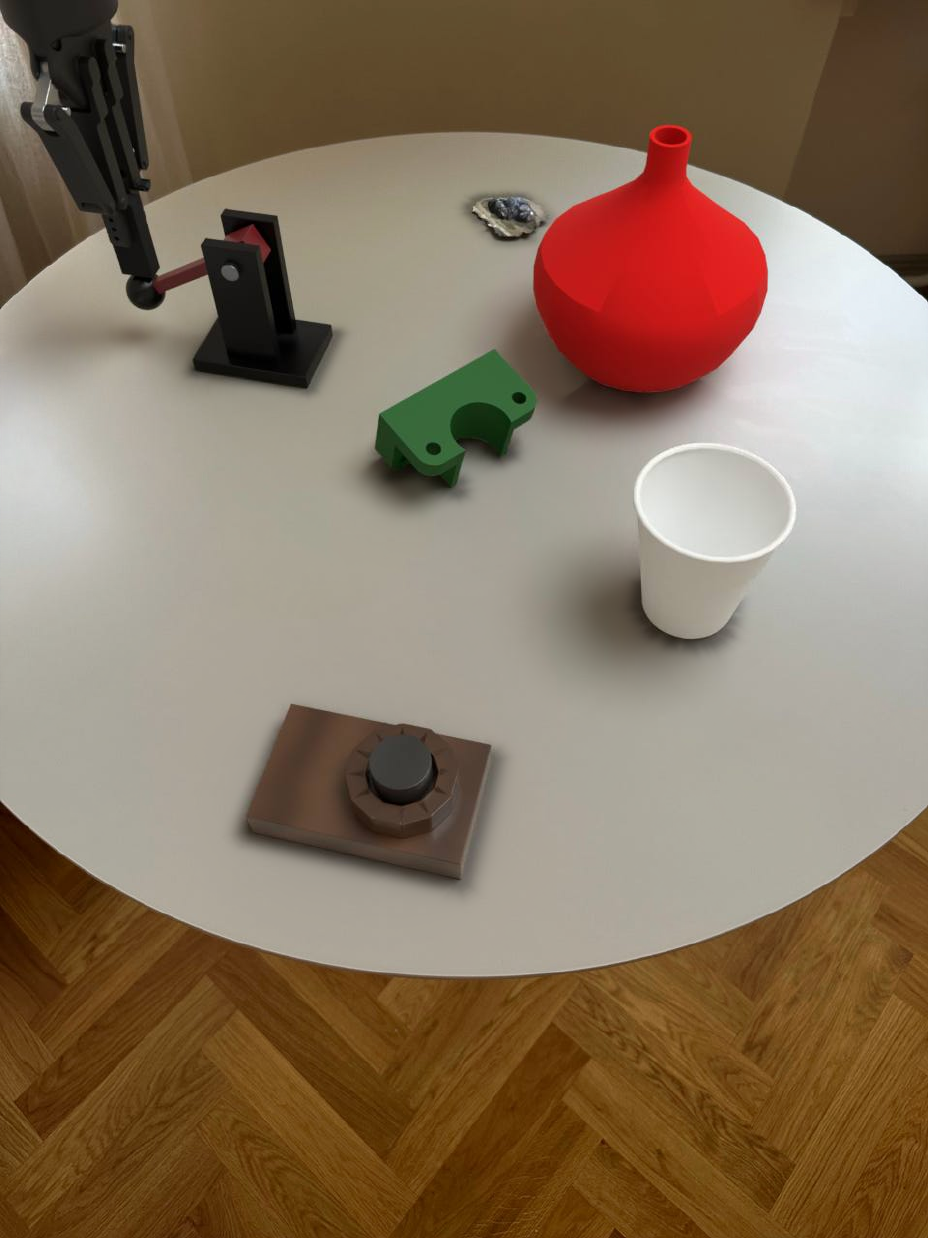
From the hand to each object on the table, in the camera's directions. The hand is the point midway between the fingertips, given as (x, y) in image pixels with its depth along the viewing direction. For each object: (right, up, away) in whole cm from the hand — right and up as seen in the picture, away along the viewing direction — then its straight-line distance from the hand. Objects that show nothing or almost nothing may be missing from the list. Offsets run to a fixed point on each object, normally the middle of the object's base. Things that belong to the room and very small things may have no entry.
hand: (141, 270), depth 85 cm
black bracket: (+9, -6, +4) cm, 12 cm away
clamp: (+26, -16, -3) cm, 30 cm away
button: (+23, -38, -24) cm, 50 cm away
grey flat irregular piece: (+31, +10, +15) cm, 36 cm away
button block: (+21, -40, -21) cm, 49 cm away
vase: (+41, -6, +3) cm, 42 cm away
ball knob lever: (+5, -1, 0) cm, 6 cm away
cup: (+42, -28, -12) cm, 52 cm away
